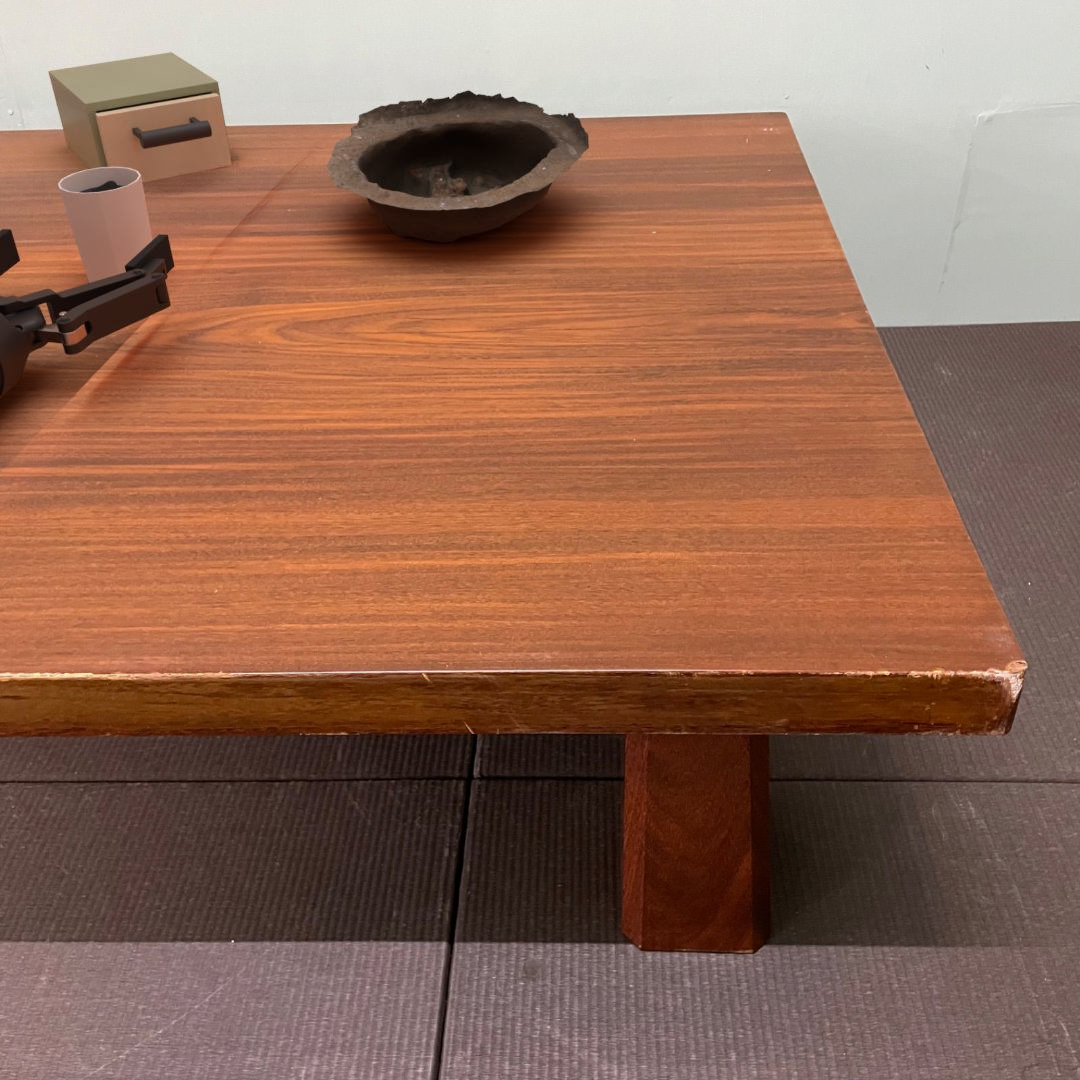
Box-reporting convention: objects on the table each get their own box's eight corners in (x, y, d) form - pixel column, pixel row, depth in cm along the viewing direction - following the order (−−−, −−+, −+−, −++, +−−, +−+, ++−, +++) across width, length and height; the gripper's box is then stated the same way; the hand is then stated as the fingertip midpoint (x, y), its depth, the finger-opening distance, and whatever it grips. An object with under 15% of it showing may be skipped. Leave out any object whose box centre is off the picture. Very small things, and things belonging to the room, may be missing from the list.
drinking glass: (89, 282, 105) (60, 171, 99) (165, 273, 106) (141, 163, 100) (86, 312, 99) (55, 197, 94) (166, 302, 101) (140, 188, 95)
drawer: (247, 182, 123) (234, 105, 118) (129, 207, 118) (110, 127, 113) (189, 137, 136) (176, 66, 132) (80, 157, 131) (62, 84, 126)
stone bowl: (532, 160, 128) (533, 74, 123) (621, 258, 110) (628, 162, 105) (310, 187, 122) (299, 98, 116) (366, 296, 104) (357, 196, 98)
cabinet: (234, 174, 128) (217, 81, 122) (108, 199, 122) (85, 103, 117) (188, 138, 139) (171, 52, 133) (71, 160, 133) (48, 71, 128)
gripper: (-200, 406, 83) (-38, 284, 100) (132, 425, 79) (241, 296, 96) (-244, 308, 78) (-67, 198, 95) (106, 324, 75) (225, 207, 92)
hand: (88, 247), depth 96 cm, fingers open, 13 cm apart
